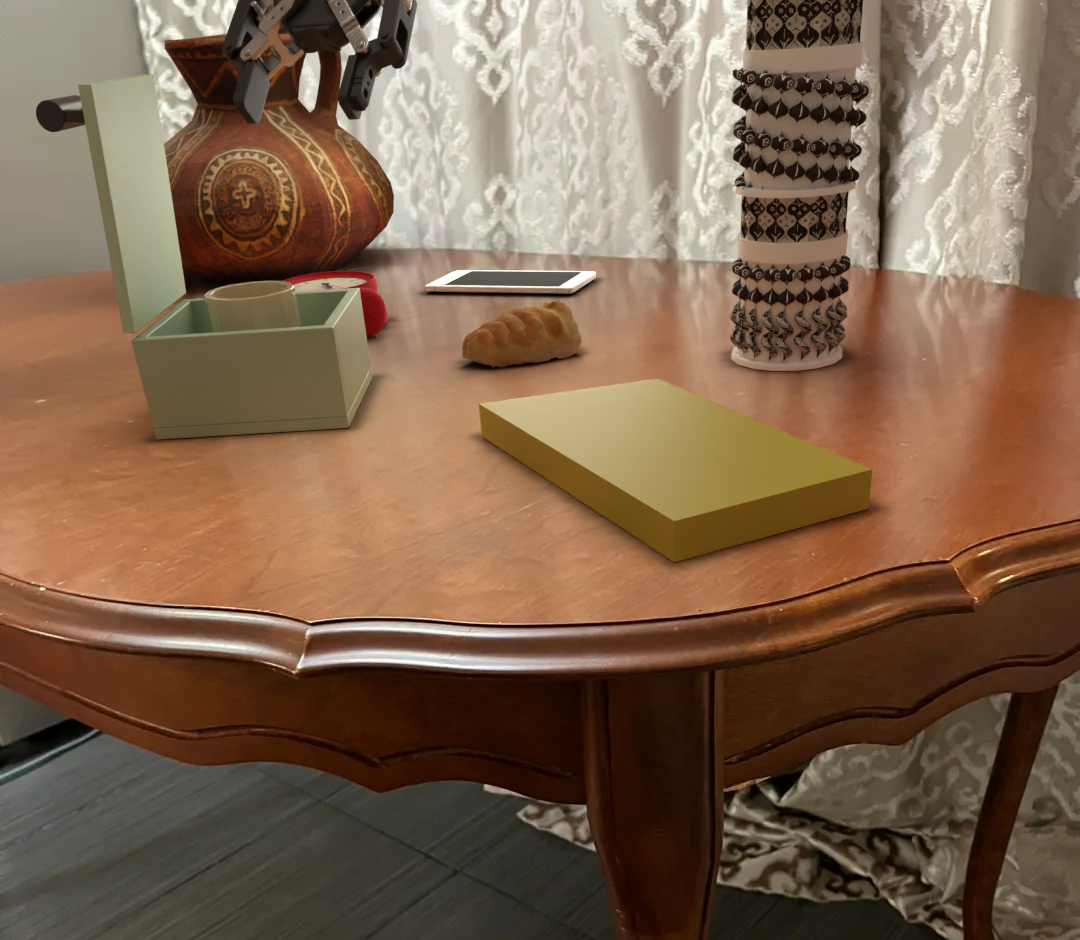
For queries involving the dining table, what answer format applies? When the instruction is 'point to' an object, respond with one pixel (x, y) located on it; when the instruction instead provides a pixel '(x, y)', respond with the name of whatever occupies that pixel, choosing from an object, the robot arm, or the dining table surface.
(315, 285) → the alarm clock
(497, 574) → the dining table surface
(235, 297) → the tan cup
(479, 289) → the cell phone
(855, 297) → the dining table surface
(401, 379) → the dining table surface
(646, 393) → the flat olive board
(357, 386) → the open hinged lid box
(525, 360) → the pastry
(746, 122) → the bracelet display stand
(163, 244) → the box lid
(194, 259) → the jug
